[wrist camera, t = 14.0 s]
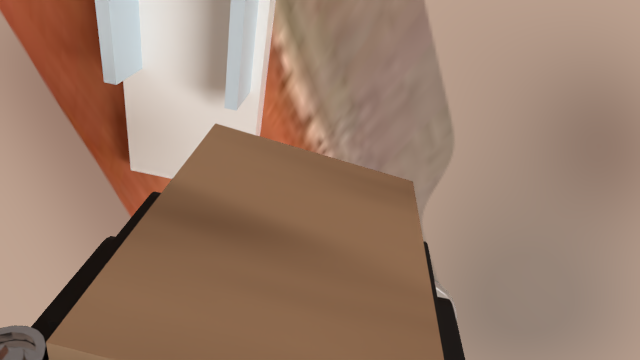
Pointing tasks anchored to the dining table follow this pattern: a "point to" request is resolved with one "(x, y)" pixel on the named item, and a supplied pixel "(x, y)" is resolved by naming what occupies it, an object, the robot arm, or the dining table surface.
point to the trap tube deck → (184, 71)
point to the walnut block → (263, 265)
